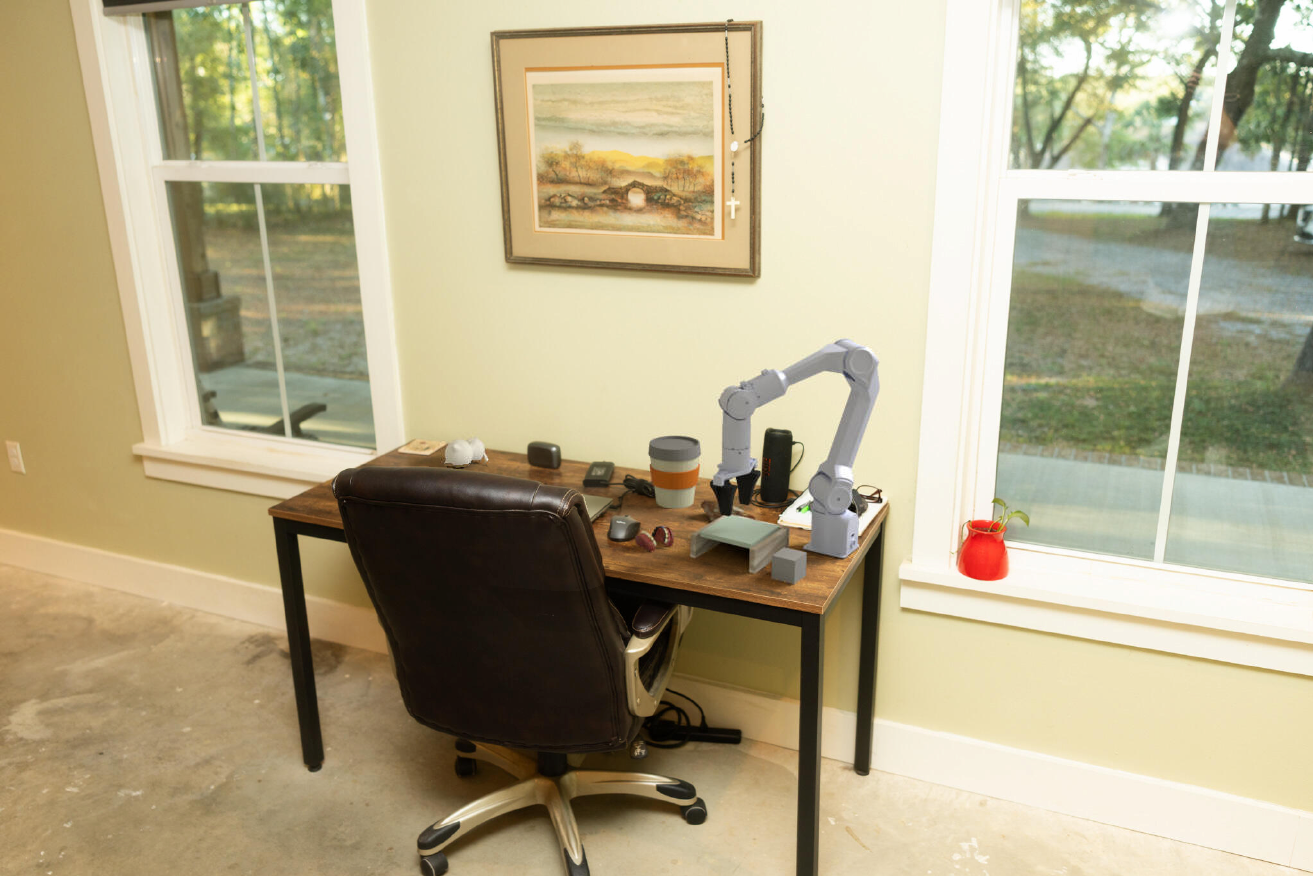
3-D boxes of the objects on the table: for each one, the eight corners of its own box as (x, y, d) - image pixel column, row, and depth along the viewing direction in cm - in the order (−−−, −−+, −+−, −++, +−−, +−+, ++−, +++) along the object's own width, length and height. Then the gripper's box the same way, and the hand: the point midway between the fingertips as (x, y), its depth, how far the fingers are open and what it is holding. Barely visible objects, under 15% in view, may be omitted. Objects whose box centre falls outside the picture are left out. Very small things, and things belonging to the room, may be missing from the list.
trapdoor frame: (788, 549, 203) (789, 527, 202) (754, 573, 191) (755, 550, 190) (726, 534, 211) (727, 513, 210) (690, 556, 200) (690, 534, 198)
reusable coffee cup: (666, 514, 224) (665, 453, 220) (639, 499, 234) (638, 440, 230) (710, 504, 230) (711, 444, 226) (683, 490, 241) (682, 432, 236)
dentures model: (631, 528, 205) (662, 520, 209) (631, 546, 206) (661, 538, 211) (646, 537, 201) (677, 529, 205) (646, 555, 202) (676, 547, 206)
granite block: (805, 576, 190) (806, 552, 189) (794, 584, 186) (795, 561, 185) (783, 570, 193) (783, 547, 192) (771, 579, 189) (772, 555, 188)
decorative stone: (720, 489, 226) (772, 511, 217) (718, 506, 228) (769, 528, 218) (694, 499, 219) (746, 522, 210) (692, 516, 221) (744, 540, 212)
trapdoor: (729, 519, 208) (729, 514, 208) (779, 530, 201) (779, 525, 201) (700, 536, 199) (700, 532, 198) (750, 548, 192) (750, 544, 192)
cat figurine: (478, 426, 265) (444, 435, 256) (501, 452, 261) (469, 461, 252) (467, 449, 270) (434, 458, 260) (490, 475, 266) (457, 485, 256)
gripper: (737, 434, 201) (736, 496, 205) (700, 451, 190) (699, 516, 193) (767, 439, 197) (765, 502, 201) (731, 457, 186) (730, 523, 189)
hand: (735, 509), depth 197 cm, fingers open, 7 cm apart
